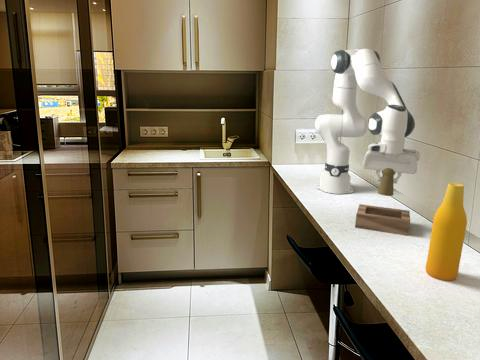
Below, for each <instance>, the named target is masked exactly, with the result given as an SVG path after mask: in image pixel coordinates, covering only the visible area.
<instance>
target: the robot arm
mask: <svg viewBox="0 0 480 360" xmlns="http://www.w3.org/2000/svg"><path fill="white" fill-rule="evenodd" d="M330 67H331V70H332V72H333V73H335V75H334V81H333V91H332V99H331V100H332V103H333V105H335V106H336V107H337V108H339V109H341V110H342V111H343V113H342V114H336V113H324V114H320V115H318V116H317V117H316V119H315V122H314V129H315V132H316V133H317V134H318V135H319V136H320V137H321V138H322V140H323V141H324V143H325V146H326V162H325V165H324V171H322V172H321V174H320V182H319V184H318V185H316V189H317V190H321V192H325V193H329V194H334V195H335V194H336V195H337V194H338V195H344V194H351V193H352V194H353V193H354V189H353V186H352V182H351V177H352V176H350V174H349V171H350V164H349V161H350V148H349V147H348V145H346V144H344V143H342V142H341V141H339V138H360V137H363V136H365V134H366V133H367V131H369V133H371V134H372V136H373V135H374V136H375V137H379V136H380V137H381V139H380V141H379V142H374V143H370V144H369V145H368V146H367V150H366V153H365V155H364V158H363V162H362V168H363V169H365V170H372V171H376V172H375V174H376V176H377V181H378V182H380V183H381V181H382V176H381V175H380V173H381V172H382V171H384V169H386V168H391V169H393V170H394V172H396V173H397V176H396V177H394V181H393V184H395V185H396V184H398V181H399V179H400V178H401V177H402V174H407V175H415V174H416V173H417V172H418V162H419V160H420V156H421V155H420V152H419V151H417V150H416V149H409V148H405V143H406V138H407V137H408V136H410V135H411V134H412V133H413V131H414V129H415V127H416V122H415V119H414V116H413V115H412V114H411V113H410V111H409V110H408V108H407V106H406V104H405V102H404V100H403V99H402V96H401V94H400V92H399V90H398V88H397V87H396V84H395V83H394V82H392V81H391V80H390V79H389V78H388V76H387V75H386V74H385V72H384V71H383V69H382V66H381V58H380V55H379V53H378V52H377V51H376V50H373V49H371V48H362V49H360V48H356V49H345V50H344V49H340V50H337V51H335V52H333V54H332V55H331V60H330ZM358 86H359V88H360V89H361V90H362V91H363V92H364V93H367V94H370V95H373V96H377V97H378V98H379V97H380V98H382V99H383V100H384V101H385V102H386V103H387V104H388V105H387V106H386V107H385V108H384V109H383V110H380V111H377V112H373V113H372V114H371V115H370V116H369V118H368V121H367V119H366V118H365V116H363V115H362V114H361V112H360V111H359V109H358V107H357V89H358Z"/></svg>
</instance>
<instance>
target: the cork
mask: <svg viewBox="0 0 480 360" xmlns="http://www.w3.org/2000/svg"><path fill="white" fill-rule="evenodd" d="M381 173H382V176H381V177H382V181H381V182H380V183H379V187H378V190H377V194H378V195H381V196H385V197H386V196H387V197H392V196H394V183H393V181H394V178H395V177H394V176H395V175H396V173H397V172H394V170H393V169H391V168H386V169H384V171H381Z"/></svg>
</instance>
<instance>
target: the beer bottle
mask: <svg viewBox="0 0 480 360" xmlns="http://www.w3.org/2000/svg"><path fill="white" fill-rule="evenodd" d="M444 194H445V195H444V197H443V200H442V203H441V205H440V206H439V207H438V209H437V210H436V212H435V214H434V217H433V220H432V226H431V227H432V228H431V233H430V240H429V244H428V245H429V246H428V251H427V259H426V262H425V272H426V274H427V275H428V276H430V277H432V278H434V279H437V280H441V281H448V280H449V281H455V280H456V279H457V278H458V275H459V269H460V264H461V263H460V262H461V257H462V251H463V247H464V243H465V242H464V241H465V235H466V230H467V226H468V225H467V223H468V220H467V219H468V218H467V213H466V211H465V207H464V197H465V196H464V194H465V185H464V184H462V183H457V182H449V183H448V184H447V188H446V190H445V193H444Z"/></svg>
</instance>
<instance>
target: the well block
mask: <svg viewBox="0 0 480 360" xmlns="http://www.w3.org/2000/svg"><path fill="white" fill-rule="evenodd" d="M410 214H411V212H410V210H407V209H399V208H391V207H384V206H377V205H369V204H362V203H359V204H358V208H357V211H356V216H355V224H354V228H356V229H362V230H369V231H376V232H383V233H389V234H395V235H402V236H409V234H410V227H411V215H410Z"/></svg>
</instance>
